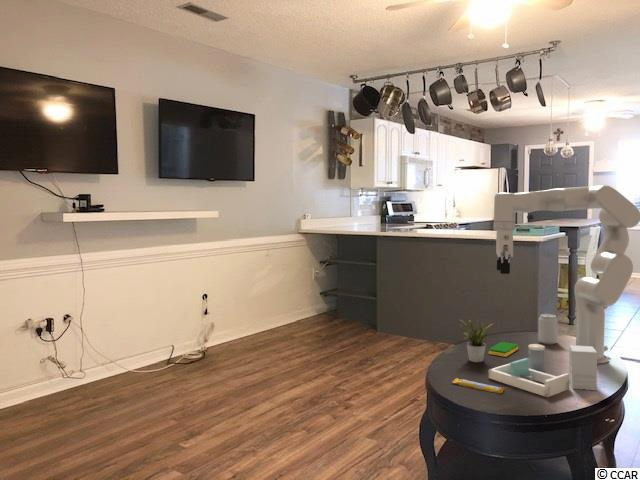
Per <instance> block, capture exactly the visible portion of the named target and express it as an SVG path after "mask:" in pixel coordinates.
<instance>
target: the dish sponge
mask: <svg viewBox="0 0 640 480" xmlns="http://www.w3.org/2000/svg"><path fill="white" fill-rule="evenodd" d="M518 350H519V344H518V343H513V342H512V343H510V342H505V341H500V342H499V343H497V344H495V345H493V346H491V347H490V348H488V355H491V356H492V355H493V356H498V357H504V358H507V357H508V356H510V355H512V354H513V353H514V352H516V351H518Z"/></svg>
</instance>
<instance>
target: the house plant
mask: <svg viewBox="0 0 640 480" xmlns="http://www.w3.org/2000/svg"><path fill="white" fill-rule="evenodd" d="M457 320H459V321H461V322H462V323H464V324H462V323H461V326H460V327H461V328H463V329H464V330H465V331H466V332H463V334H462V335H464V337H463V340H468V341H469V342H467V343H466V348H467V355H468V360H469V362H473V363H482V362H483V361H484V357H485V351H486V348H487V347H486V345H487V344H486V343H485V342H486V341H485V340H486V339H488V338H489V334H484V333H485V332H486V330H488V329H489V327H491V326H492V325H493V324H494V323H491V324H488V326H485V327H484V322H480V323H482V324H481V326H480V328H479V331H478V327H479V324H480V323H479V324H476V327H475V326H474V324H473V322H472V320H468V322H469V324H470V327H471V329H470V328H469V326H468V324H467V322H465V321H463V320H462V319H457ZM479 320H480V318H478V320H477V322H476V323H478V322H479ZM462 325H463V326H462ZM465 327H466V328H465ZM486 336H487V337H486Z"/></svg>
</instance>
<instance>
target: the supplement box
mask: <svg viewBox="0 0 640 480" xmlns="http://www.w3.org/2000/svg"><path fill="white" fill-rule="evenodd" d="M568 351H569V353H568V354H569V356H568V357H569V361H568V363H569V367H568V374H569V385H570V386H571V389H573V390H583V389H585V390H584V391H597V387H598V386H597V385H598V384H597V383H598V378H597V377H598V364H597V352H596V351H595V349H594V348H593V347H592V346H576V345H575V344H574V345H571V344H570V345H569V350H568Z"/></svg>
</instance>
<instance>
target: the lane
mask: <svg viewBox="0 0 640 480" xmlns="http://www.w3.org/2000/svg"><path fill="white" fill-rule="evenodd" d="M510 371H511V362H509V363H507V364H503V365H500V366H496V367H494V368H493V367H492V368H489V369H488V379H490V380H493V381H496V382H499V383H503V384H506V385H508V386H511V387H515V388H518V389H521V390H524V391H526V392H527V391H528V392H530V393H533V394H535V395H536V394H537V395H539V396H542V397H544V398H545V397H546V398H549V397H552V396H555V395H558V394H560V393H562V392H565V391H567V390H570V382H569V372H568V373H567V372H566V373H561V375H557V376H556V375H553V374H550V373H546V372H540V371H536V370H533V369H529V375H530V376H533V381H530V380H526V379H523V378H520V377H517V376H513V375H510Z"/></svg>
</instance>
